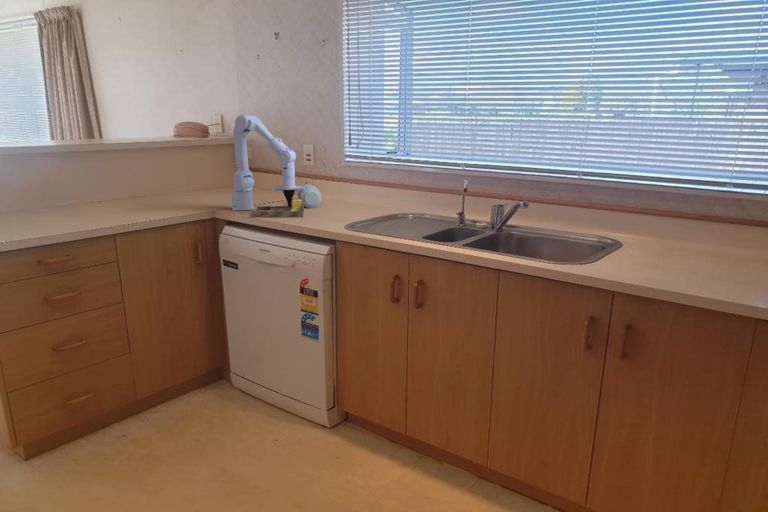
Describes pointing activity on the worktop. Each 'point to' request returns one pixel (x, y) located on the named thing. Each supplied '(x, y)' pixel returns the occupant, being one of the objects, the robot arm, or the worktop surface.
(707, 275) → the worktop surface
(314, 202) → the device
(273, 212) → the tray
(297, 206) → the block
